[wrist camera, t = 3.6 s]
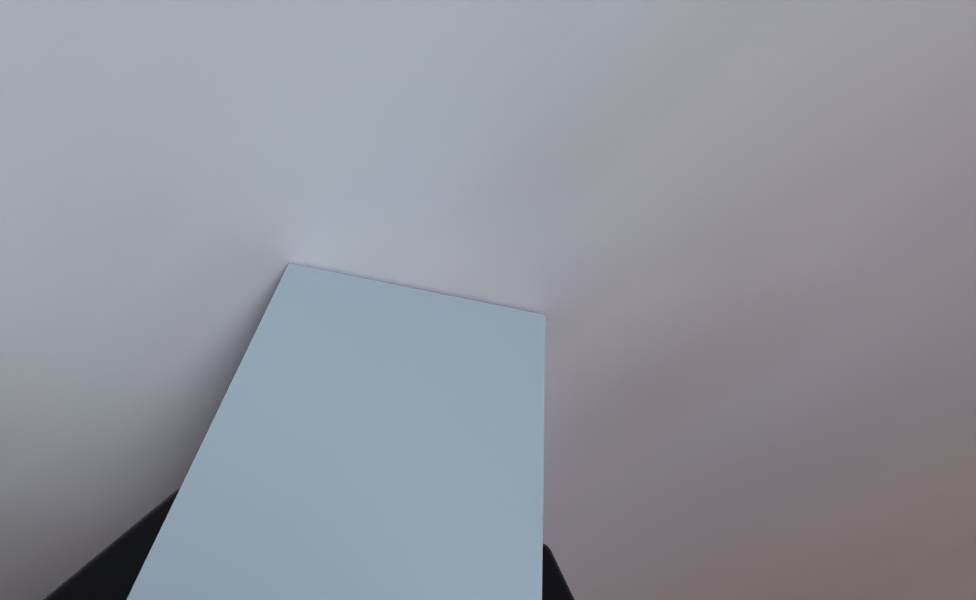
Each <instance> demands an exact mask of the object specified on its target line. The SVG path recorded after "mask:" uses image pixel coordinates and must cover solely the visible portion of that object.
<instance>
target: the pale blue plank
mask: <svg viewBox="0 0 976 600" xmlns="http://www.w3.org/2000/svg"><path fill="white" fill-rule="evenodd" d="M545 323H546V315H544V314H539V313H534V312H529V311H524V310H519V309H514V308H509V307H504V306H499V305H494V304H489V303H484V302H479V301H474V300H469V299H464V298H459V297H454V296H449V295H444V294H439V293H434V292H429V291H425V290H420V289H415V288H410V287H405V286H400V285H395V284H390V283H385V282H380V281H375V280H370V279H365V278H360V277H355V276H350V275H345V274H340V273H335V272H330V271H325V270H320V269H315V268H310V267H306V266H301V265H296V264H291V263H289V264H288V266H287V268H286V270H285V272H284V274H283V276H282V278H281V280H280V282H279V284H278V286H277V289H276V291H275V293H274V295H273V297H272V299H271V301H270V303H269V305H268V307H267V309H266V311H265V313H264V315H263V318H262V320H261V322H260V324H259V326H258V328H257V330H256V332H255V334H254V336H253V338H252V340H251V342H250V345H249V347H248V349H247V351H246V353H245V355H244V357H243V359H242V361H241V363H240V365H239V367H238V369H237V372H236V374H235V376H234V378H233V380H232V382H231V384H230V386H229V388H228V390H227V392H226V394H225V396H224V398H223V401H222V403H221V405H220V407H219V409H218V411H217V413H216V415H215V417H214V419H213V421H212V423H211V425H210V428H209V430H208V432H207V434H206V436H205V438H204V440H203V442H202V444H201V446H200V448H199V450H198V452H197V455H196V457H195V459H194V461H193V463H192V465H191V467H190V469H189V471H188V473H187V475H186V477H185V479H184V481H183V484H182V486H181V488H180V490H179V492H178V494H177V496H176V498H175V500H174V502H173V504H172V506H171V508H170V511H169V513H168V515H167V517H166V519H165V521H164V523H163V525H162V527H161V529H160V531H159V533H158V535H157V538H156V540H155V542H154V544H153V546H152V548H151V550H150V552H149V554H148V556H147V558H146V560H145V562H144V564H143V567H142V569H141V571H140V573H139V575H138V577H137V579H136V581H135V583H134V585H133V587H132V589H131V591H130V594H129V596H128V598H127V600H542V560H543V481H544V402H545Z"/></svg>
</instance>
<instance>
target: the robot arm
mask: <svg viewBox="0 0 976 600" xmlns="http://www.w3.org/2000/svg"><path fill="white" fill-rule="evenodd" d="M180 488H181V487H180ZM180 488H179V489H178V490H176V491H175V492H174V493H173V494H172V495H170V496H169V497H168V498H167V499H165V500H164V501H163V502H162V503H161V504H159V505H158V506H157V507H156V508H154V509H153V510H152V511H151V512H150V513H148V514H147V515H146V516H145V517H144V518H142V519H141V520H140V521H139V522H137V523H136V524H135V525H134V526H133V527H131V528H130V529H129V530H128V531H126V532H125V533H124V534H123V535H122V536H120V537H119V538H118V539H117V540H115V541H114V542H113V543H112V544H111V545H109V546H108V547H107V548H106V549H104V550H103V551H102V552H101V553H100V554H98V555H97V556H96V557H95V558H94V559H92V560H91V561H90V562H89V563H87V564H86V565H85V566H84V567H83V568H81V569H80V570H79V571H78V572H76V573H75V574H74V575H73V576H72V577H70V578H69V579H68V580H67V581H65V582H64V583H63V584H62V585H61V586H59V587H58V588H57V589H56V590H55V591H53V592H52V593H51V594H50V595H48V596H47V597H46V598H45V599H44V600H127V598H128V596H129V594H130V591H131V589H132V587H133V585H134V583H135V581H136V579H137V577H138V575H139V573H140V571H141V569H142V567H143V564H144V562H145V560H146V558H147V556H148V554H149V552H150V550H151V548H152V546H153V544H154V542H155V540H156V538H157V535H158V533H159V531H160V529H161V527H162V525H163V523H164V521H165V519H166V517H167V515H168V513H169V511H170V508H171V506H172V504H173V502H174V500H175V498H176V496H177V494H178V492H179V490H180ZM542 600H574V598H573V596H572V594H571V592H570V590H569V588H568V585H567V583H566V581H565V579H564V577H563V575H562V573H561V571H560V569H559V567H558V564H557V562H556V560H555V558H554V556H553V554H552V552H551V550H550V549H549V547H548V546H546V545H545V544H543V560H542Z"/></svg>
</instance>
